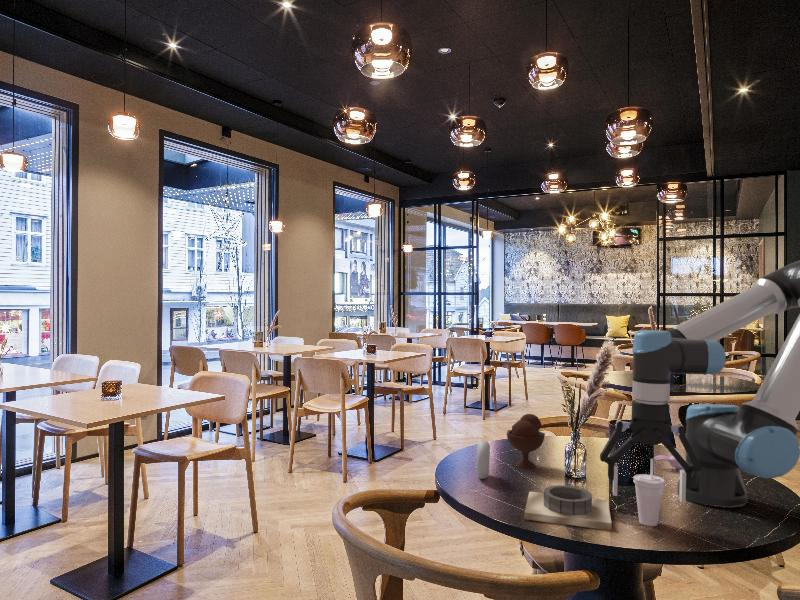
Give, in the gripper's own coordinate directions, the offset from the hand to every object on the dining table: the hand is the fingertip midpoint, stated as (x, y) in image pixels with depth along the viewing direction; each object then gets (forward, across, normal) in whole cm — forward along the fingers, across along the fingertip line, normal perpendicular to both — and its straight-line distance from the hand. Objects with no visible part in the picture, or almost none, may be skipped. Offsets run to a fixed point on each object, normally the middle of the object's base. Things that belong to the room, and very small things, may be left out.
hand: (648, 497), depth 124 cm
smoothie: (+6, 0, 0) cm, 6 cm away
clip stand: (+6, +17, 0) cm, 18 cm away
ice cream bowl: (+6, +29, -33) cm, 44 cm away
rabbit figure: (+6, -14, -44) cm, 47 cm away
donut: (+6, +39, -18) cm, 43 cm away
